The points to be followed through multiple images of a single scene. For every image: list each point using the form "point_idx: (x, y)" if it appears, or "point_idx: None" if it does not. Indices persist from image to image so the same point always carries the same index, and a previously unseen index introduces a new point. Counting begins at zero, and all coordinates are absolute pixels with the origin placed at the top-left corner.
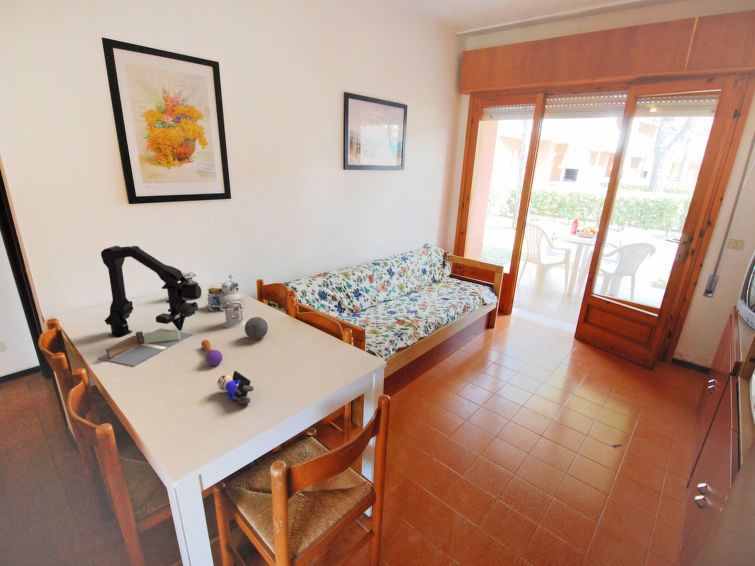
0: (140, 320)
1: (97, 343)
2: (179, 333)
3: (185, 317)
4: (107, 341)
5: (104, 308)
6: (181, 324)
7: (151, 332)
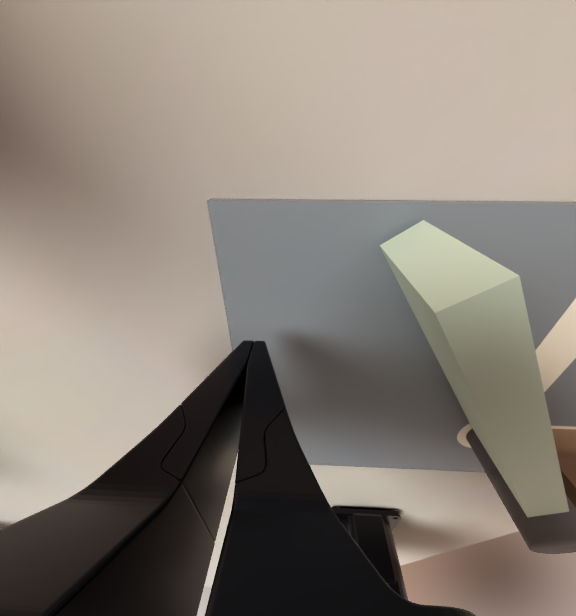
0: (225, 525)
1: (462, 524)
2: (263, 332)
3: (54, 520)
4: (441, 515)
5: None
6: (228, 397)
7: (524, 494)
